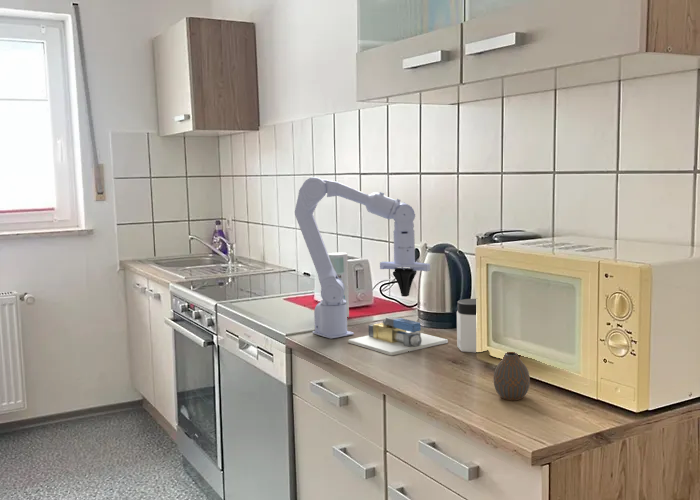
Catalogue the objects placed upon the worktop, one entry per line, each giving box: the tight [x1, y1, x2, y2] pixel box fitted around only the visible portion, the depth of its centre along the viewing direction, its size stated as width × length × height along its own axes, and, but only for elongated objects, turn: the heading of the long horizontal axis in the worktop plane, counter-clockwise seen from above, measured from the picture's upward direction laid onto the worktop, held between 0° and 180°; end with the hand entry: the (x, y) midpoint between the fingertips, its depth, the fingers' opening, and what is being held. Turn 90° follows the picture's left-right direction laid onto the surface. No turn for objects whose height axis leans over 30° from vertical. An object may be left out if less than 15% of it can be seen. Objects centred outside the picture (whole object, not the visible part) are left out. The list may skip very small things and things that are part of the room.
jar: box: [456, 298, 477, 354], centre depth 173 cm, size 9×8×12 cm
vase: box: [493, 352, 531, 401], centre depth 135 cm, size 7×7×9 cm
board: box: [347, 331, 449, 356], centre depth 182 cm, size 18×19×1 cm
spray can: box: [328, 252, 350, 318], centre depth 216 cm, size 6×6×20 cm
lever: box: [382, 316, 421, 332], centre depth 179 cm, size 13×3×2 cm, turn 35°
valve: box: [367, 322, 422, 347], centre depth 181 cm, size 18×5×4 cm, turn 36°
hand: (405, 295), depth 192 cm, fingers closed
